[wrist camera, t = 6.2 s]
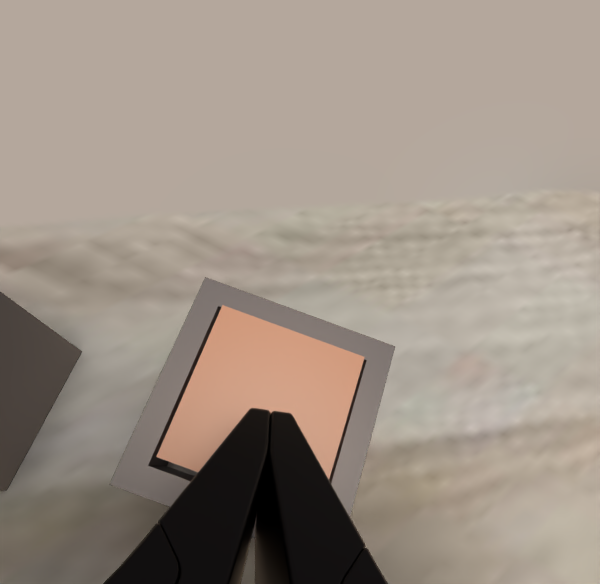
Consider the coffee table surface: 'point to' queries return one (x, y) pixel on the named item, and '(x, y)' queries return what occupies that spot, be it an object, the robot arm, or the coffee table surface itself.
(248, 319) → the terracotta button
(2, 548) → the coffee table surface
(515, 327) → the coffee table surface
